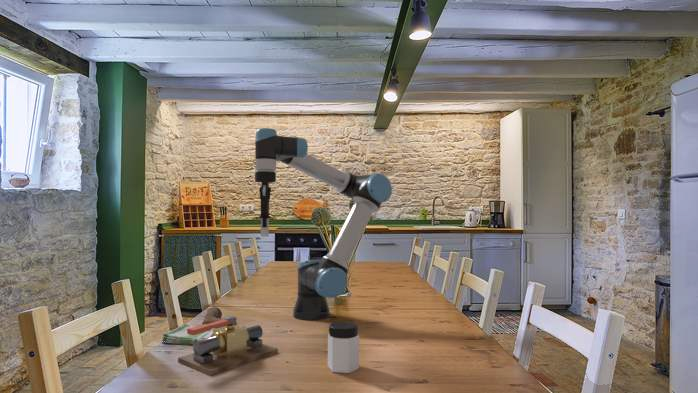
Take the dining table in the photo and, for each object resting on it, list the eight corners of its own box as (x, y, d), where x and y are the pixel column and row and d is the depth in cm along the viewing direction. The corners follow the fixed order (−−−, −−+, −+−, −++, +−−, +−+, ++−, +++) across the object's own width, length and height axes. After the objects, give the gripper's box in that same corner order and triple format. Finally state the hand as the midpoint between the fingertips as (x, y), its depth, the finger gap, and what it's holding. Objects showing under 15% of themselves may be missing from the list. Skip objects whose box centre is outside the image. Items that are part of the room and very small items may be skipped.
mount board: (244, 342, 146) (244, 338, 146) (277, 352, 136) (277, 348, 136) (178, 361, 127) (178, 357, 127) (210, 375, 117) (210, 370, 117)
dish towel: (184, 330, 160) (184, 320, 160) (245, 333, 158) (245, 323, 158) (159, 345, 143) (159, 334, 143) (227, 348, 141) (227, 337, 141)
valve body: (251, 341, 142) (251, 315, 142) (265, 346, 138) (266, 318, 138) (189, 360, 125) (190, 329, 125) (204, 365, 120) (204, 334, 121)
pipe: (230, 319, 157) (246, 309, 166) (192, 315, 162) (209, 305, 172) (232, 336, 158) (247, 325, 167) (194, 331, 163) (211, 320, 173)
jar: (342, 360, 129) (342, 319, 129) (364, 367, 124) (364, 324, 124) (321, 368, 122) (321, 325, 123) (343, 376, 117) (344, 331, 117)
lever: (230, 320, 134) (230, 315, 134) (238, 322, 132) (238, 317, 132) (185, 334, 120) (186, 328, 120) (194, 336, 118) (195, 330, 118)
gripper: (256, 172, 165) (255, 235, 165) (253, 169, 152) (252, 237, 152) (276, 172, 166) (276, 235, 166) (275, 170, 153) (274, 237, 153)
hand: (264, 236), depth 159 cm, fingers closed
